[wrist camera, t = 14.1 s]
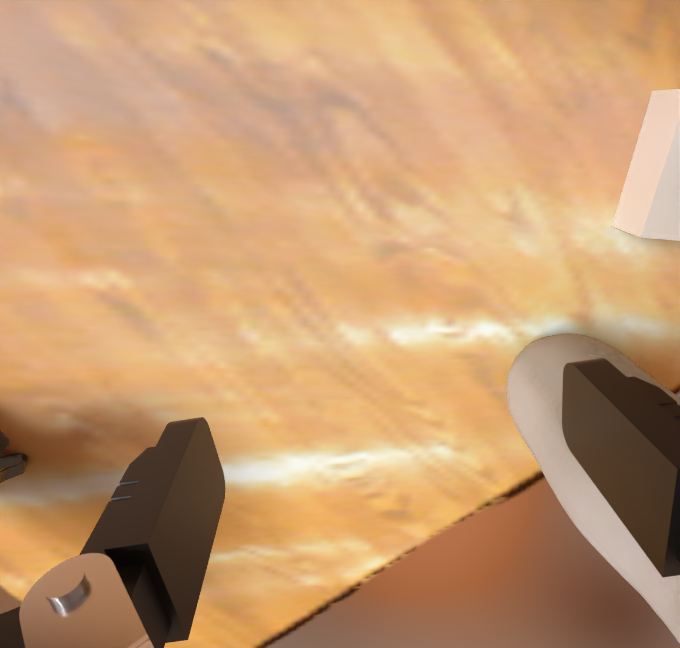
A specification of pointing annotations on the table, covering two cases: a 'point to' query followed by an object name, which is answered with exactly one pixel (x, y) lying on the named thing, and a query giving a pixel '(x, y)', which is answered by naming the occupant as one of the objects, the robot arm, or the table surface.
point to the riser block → (654, 173)
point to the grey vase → (565, 471)
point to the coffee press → (10, 461)
